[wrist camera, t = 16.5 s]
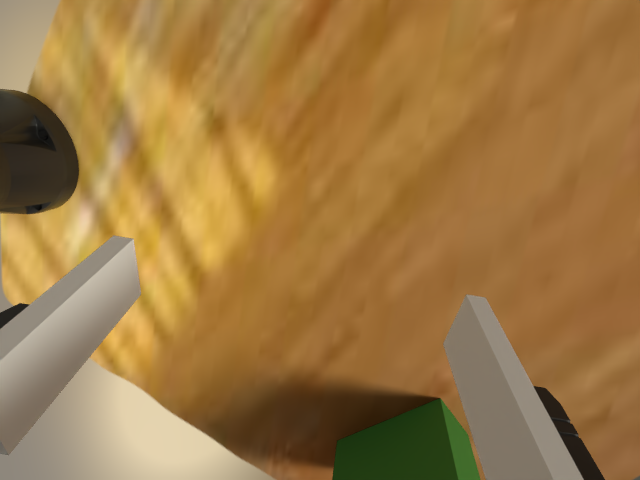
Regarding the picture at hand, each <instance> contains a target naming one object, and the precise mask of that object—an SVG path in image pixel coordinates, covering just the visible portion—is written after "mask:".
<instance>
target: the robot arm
mask: <svg viewBox="0 0 640 480" xmlns="http://www.w3.org/2000/svg"><path fill="white" fill-rule="evenodd" d="M78 173H79V168H78V159H77V154H76V150H75V147H74V144H73V142H72V139H71V137H70V135H69V133H68V131H67V130H66V128H65V127H64V125H63V124H62V122H61V121H60V119H59V118H58V117H57V116H56V115H55V114H54V113H53V112H52V111H51V110H50V109H49V108H48V107H47V106H46V105H45V104H43V103H42V102H41V101H39V100H38V99H36V98H34V97H32V96H30V95H28V94H26V93H23V92H20V91H15V90H5V89H0V213H9V214H36V213H41V212H44V211H48V210H51V209H55V208H57V207H59V206H61V205H63V204H64V203H65V202H67V201H68V199H69V198H70V197H71V196H72V194H73V192H74V190H75V188H76V185H77V181H78ZM140 295H141V290H140V283H139V276H138V268H137V261H136V254H135V246H134V239H131V238H125V237H119V236H113V237H111V238H110V239H109V240H108V241H107V242H105V243H104V244H103V245H102V246H101V247H99V248H98V249H97V250H96V251H94V252H93V253H92V254H91V255H90V256H88V257H87V258H86V259H85V260H84V261H82V262H81V263H80V264H79V265H77V266H76V267H75V268H74V269H73V270H71V271H70V272H69V273H68V274H67V275H65V276H64V277H63V278H62V279H60V280H59V281H58V282H57V283H56V284H54V285H53V286H52V287H51V288H50V289H48V290H47V291H46V292H45V293H43V294H42V295H41V296H40V297H39V298H37V299H36V300H35V301H34V302H33V303H31V304H30V305H28V304H22V303H20V304H18V305H15V306H13V307H11V308H9V309H7V310H5V311H3V312H1V313H0V454H5V455H9V454H10V453H11V452H12V451H13V449H14V448H15V447H16V446H17V444H18V443H19V442H20V441H21V440H22V438H23V437H24V436H25V435H26V434H27V432H28V431H29V430H30V429H31V427H32V426H33V425H34V424H35V423H36V421H37V420H38V419H39V418H40V417H41V415H42V414H43V413H44V412H45V410H46V409H47V408H48V407H49V406H50V404H51V403H52V402H53V401H54V399H55V398H56V397H57V396H58V395H59V393H60V392H61V391H62V390H63V389H64V387H65V386H66V385H67V384H68V382H69V381H70V380H71V379H72V378H73V376H74V375H75V374H76V373H77V372H78V370H79V369H80V368H81V367H82V365H83V364H84V363H85V362H86V361H87V359H88V358H89V357H90V356H91V355H92V353H93V352H94V351H95V350H96V348H97V347H98V346H99V345H100V344H101V342H102V341H103V340H104V339H105V338H106V336H107V335H108V334H109V333H110V331H111V330H112V329H113V328H114V327H115V325H116V324H117V323H118V322H119V320H120V319H121V318H122V317H123V316H124V314H125V313H126V312H127V311H128V310H129V308H130V307H131V306H132V305H133V303H134V302H135V301H136V300H137V299H138V297H139V296H140ZM443 345H444V348H445V351H446V354H447V358H448V361H449V364H450V367H451V370H452V373H453V377H454V380H455V383H456V386H457V389H458V392H459V395H460V399H461V402H462V405H463V408H464V411H465V414H466V418H467V421H468V424H469V427H470V430H471V433H472V437H473V440H474V443H475V446H476V449H477V452H478V456H479V459H480V462H481V465H482V468H483V471H484V474H485V478H486V480H605V479H604V477H603V475H602V474H601V472H600V470H599V469H598V467H597V465H596V464H595V462H594V460H593V458H592V457H591V455H590V453H589V452H588V450H587V448H586V447H585V445H584V443H583V441H582V440H581V438H579V437H578V433H577V431H576V430H575V428H574V426H573V424H570V419H569V418H568V416H567V414H566V413H565V411H564V409H563V407H562V406H561V404H560V403H559V402H558V401H557V400H556V399H555V398H554V397H553V396H552V394H551V393H550V392H549V391H548V390H547V389H546V388H542V387H536V386H533V385H532V383H531V381H530V379H529V377H528V376H527V374H526V372H525V370H524V368H523V366H522V364H521V363H520V361H519V359H518V357H517V355H516V353H515V352H514V350H513V348H512V346H511V344H510V342H509V340H508V339H507V337H506V335H505V333H504V331H503V329H502V327H501V326H500V324H499V322H498V320H497V318H496V316H495V314H494V313H493V311H492V309H491V307H490V305H489V303H488V301H487V300H486V298H484V297H478V296H472V295H466V296H465V298H464V301H463V303H462V305H461V307H460V309H459V311H458V313H457V316H456V318H455V320H454V322H453V324H452V326H451V328H450V330H449V333H448V335H447V337H446V339H445V341H444V343H443Z"/></svg>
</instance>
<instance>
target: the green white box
mask: <svg viewBox="0 0 640 480" xmlns="http://www.w3.org/2000/svg"><path fill="white" fill-rule="evenodd" d="M332 480H480V476H479V473H478V469H477V466H476V462H475V459H474V455H473V451H472V448H471V444H470V441H469V437H468V434H467V433H466V432H465V430H464V429H463V428H462V426H461V425H460V424H459V422H458V421H457V420H456V418H455V417H454V416H453V414H452V413H451V412H450V410H449V409H448V408H447V406H446V405H445V404H444V402H443V401H442V400H441V398H439V399H437V400H434V401H432V402H430V403H427V404H425V405H422V406H420V407H418V408H415V409H413V410H410V411H408V412H405V413H403V414H401V415H398V416H396V417H393V418H391V419H389V420H386V421H384V422H381V423H379V424H377V425H374V426H372V427H369V428H367V429H364V430H362V431H360V432H357V433H355V434H352V435H350V436H348V437H345V438H343V439H340V440H338V441H337V446H336V454H335V462H334V470H333V478H332Z"/></svg>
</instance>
